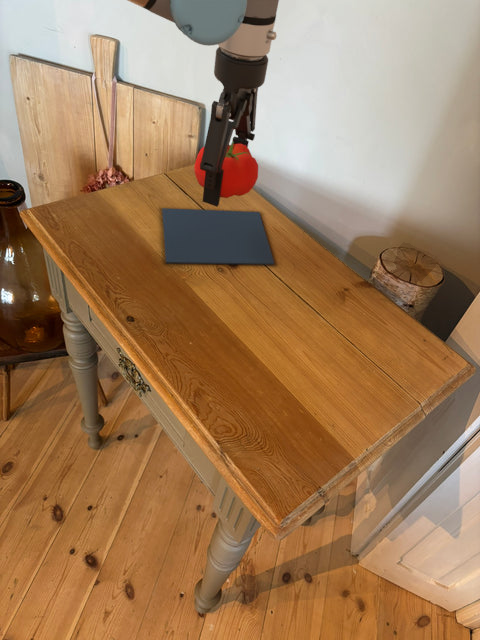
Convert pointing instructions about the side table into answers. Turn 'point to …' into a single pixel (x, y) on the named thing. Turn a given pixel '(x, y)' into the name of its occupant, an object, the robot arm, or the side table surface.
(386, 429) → the side table surface
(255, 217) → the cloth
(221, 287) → the side table surface
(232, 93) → the robot arm
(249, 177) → the tomato
